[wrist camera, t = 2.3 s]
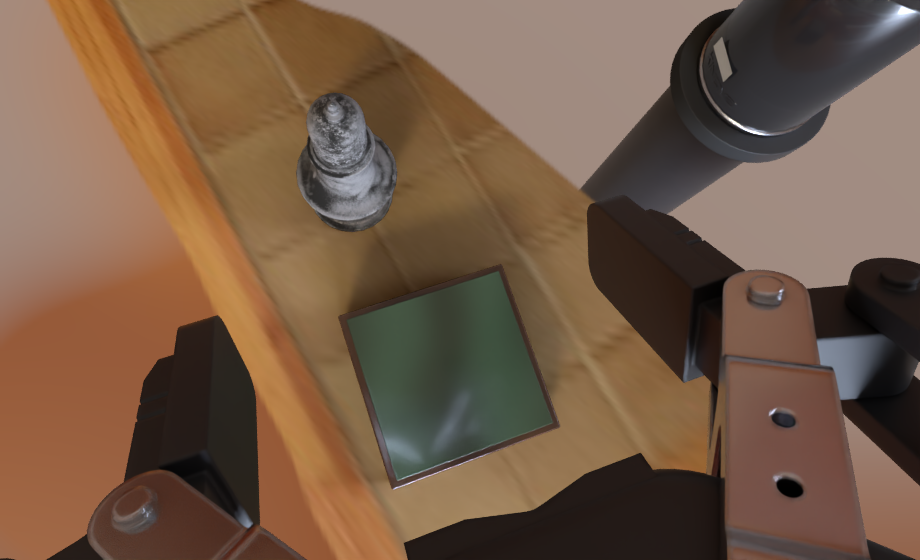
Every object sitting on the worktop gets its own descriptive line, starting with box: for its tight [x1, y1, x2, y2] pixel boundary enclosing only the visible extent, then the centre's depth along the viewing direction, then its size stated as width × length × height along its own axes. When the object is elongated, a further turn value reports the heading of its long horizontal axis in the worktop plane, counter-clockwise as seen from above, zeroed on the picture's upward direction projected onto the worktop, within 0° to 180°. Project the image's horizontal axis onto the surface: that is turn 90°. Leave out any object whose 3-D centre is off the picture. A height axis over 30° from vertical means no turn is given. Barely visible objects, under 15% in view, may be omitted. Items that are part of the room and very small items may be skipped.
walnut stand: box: [338, 264, 560, 489], centre depth 35 cm, size 10×10×4 cm
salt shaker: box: [296, 93, 397, 232], centre depth 33 cm, size 6×6×12 cm
